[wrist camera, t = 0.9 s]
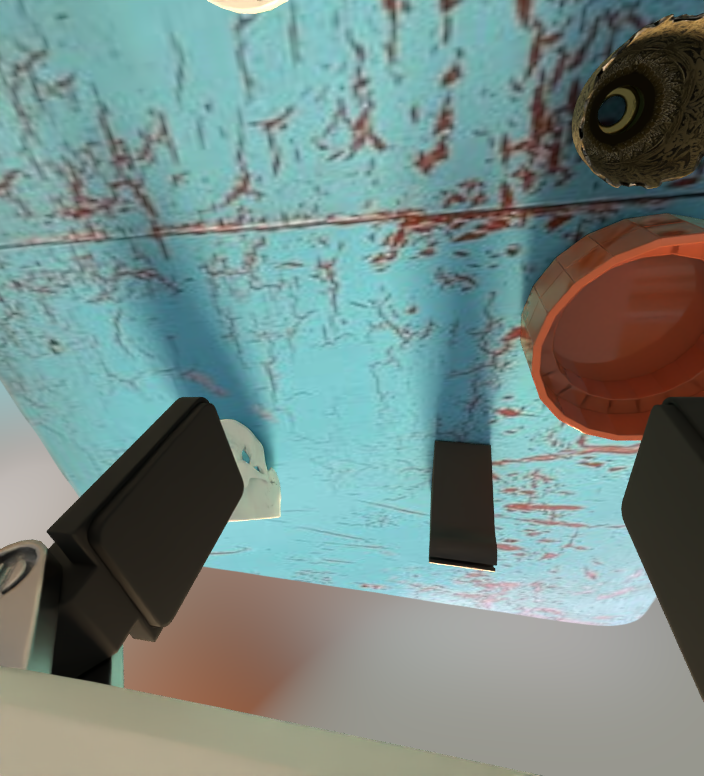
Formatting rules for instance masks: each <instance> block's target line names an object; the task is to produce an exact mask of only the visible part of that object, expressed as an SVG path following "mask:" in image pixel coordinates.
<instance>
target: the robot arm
mask: <svg viewBox="0 0 704 776" xmlns="http://www.w3.org/2000/svg"><path fill="white" fill-rule="evenodd" d="M208 1H209V2H211V3H213V4H215V5H217V6H219V7H221V8H224V9H227V10H230V11H233V12H237V13H249V14H256V13H260V12H264V11H269V10H272V9H274V8H276V7H277V6H279V5H281V4H283V3H285V2H287V1H288V0H208ZM243 492H244V482H243V479H242V476H241V474H240V471H239V468H238V466H237V463H236V461H235V458H234V455H233V453H232V450H231V448H230V445H229V442H228V440H227V437H226V435H225V432H224V429H223V427H222V424H221V421H220V419H219V416H218V414H217V411H216V408H215V407H214V405H213V404H211V403H209V401H208V400H207V399H206V398H203V397H182V398H179V399H178V400H176V401H175V402H174V403H173V404H172V405H171V406H170V407H169V408H168V409H167V410H166V411H165V412H164V413H163V414H162V415H161V416H160V417H159V418H158V419H157V420H156V421H155V423H154V424H153V425H152V426H151V427H150V428H149V429H148V430H147V431H146V432H145V433H144V434H143V435H142V436H141V437H140V438H139V439H138V440H137V441H136V442H135V443H134V444H133V445H132V446H131V447H130V448H129V449H128V450H127V451H126V452H125V453H124V454H123V455H122V456H121V457H120V458H119V459H118V460H117V461H116V462H115V463H114V464H113V465H112V466H111V467H110V468H109V469H108V470H107V471H106V472H105V473H104V474H103V475H102V476H101V477H100V478H99V479H98V480H97V481H96V482H95V483H94V484H93V485H92V486H91V487H90V488H89V489H88V490H87V491H86V492H85V493H84V494H83V495H82V496H81V497H80V498H79V499H78V500H77V501H76V502H75V503H74V504H73V505H72V506H71V507H70V508H69V509H68V510H67V511H66V512H65V513H64V514H63V515H62V516H61V517H60V518H59V519H58V520H57V521H56V522H55V523H54V524H53V525H52V526H51V527H50V528H49V529H48V530H47V533H48V534H49V535H50V537H51V538H52V539H53V540H54V541H55V543H54V544H53V545H52V546H51V547H50V548H49V549H48V548H47V547H46V546H45V545H44V544H43V543H42V542H41V541H37V540H24V541H19V542H16V543H13V544H10V545H8V546H6V547H4V548H2V549H0V776H541V775H536V774H531V773H527V772H522V771H518V770H513V769H508V768H504V767H499V766H494V765H490V764H485V763H480V762H476V761H471V760H466V759H462V758H457V757H452V756H448V755H443V754H438V753H433V752H429V751H424V750H420V749H414V748H410V747H405V746H401V745H396V744H391V743H386V742H381V741H376V740H372V739H367V738H362V737H357V736H353V735H348V734H343V733H338V732H333V731H329V730H324V729H319V728H315V727H310V726H305V725H300V724H295V723H290V722H286V721H281V720H276V719H272V718H266V717H262V716H257V715H252V714H247V713H242V712H237V711H233V710H228V709H223V708H219V707H214V706H208V705H204V704H199V703H194V702H189V701H184V700H179V699H174V698H170V697H164V696H160V695H154V694H150V693H145V692H140V691H135V690H130V689H125V688H124V665H123V642H124V641H125V639H126V638H127V636H128V635H129V634H130V635H131V636H132V637H133V638H134V639H140V640H145V641H151V642H155V641H156V640H157V638H158V636H159V634H160V633H161V631H162V629H163V627H166V626H167V625H169V624H170V623H171V622H172V620H173V619H174V617H175V615H176V613H177V612H178V610H179V608H180V606H181V604H182V603H183V601H184V599H185V597H186V596H187V594H188V592H189V590H190V588H191V587H192V585H193V583H194V581H195V579H196V578H197V576H198V574H199V572H200V570H201V569H202V567H203V565H204V563H205V562H206V560H207V558H208V556H209V554H210V553H211V551H212V549H213V547H214V545H215V544H216V542H217V540H218V538H219V537H220V535H221V533H222V531H223V529H224V528H225V526H226V524H227V522H228V520H229V519H230V517H231V515H232V513H233V512H234V510H235V508H236V506H237V504H238V503H239V501H240V499H241V497H242V495H243ZM621 510H622V517H623V520H624V523H625V525H626V528H627V530H628V532H629V534H630V537H631V539H632V541H633V543H634V546H635V548H636V550H637V552H638V555H639V557H640V559H641V562H642V564H643V566H644V568H645V571H646V573H647V575H648V577H649V580H650V582H651V584H652V586H653V589H654V591H655V593H656V596H657V598H658V600H659V602H660V605H661V607H662V609H663V611H664V614H665V616H666V618H667V620H668V623H669V625H670V627H671V629H672V632H673V634H674V636H675V639H676V641H677V643H678V645H679V648H680V650H681V652H682V654H683V657H684V659H685V661H686V663H687V666H688V668H689V670H690V672H691V675H692V677H693V679H694V682H695V684H696V686H697V688H698V690H699V693H700V695H701V697H702V700H703V701H704V397H668V398H666V399H665V400H664V401H663V403H662V405H654V406H653V408H652V409H651V412H650V415H649V418H648V421H647V424H646V428H645V431H644V434H643V437H642V440H641V444H640V447H639V450H638V453H637V456H636V459H635V463H634V466H633V469H632V472H631V475H630V479H629V482H628V485H627V488H626V491H625V495H624V498H623V501H622V508H621Z"/></svg>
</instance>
